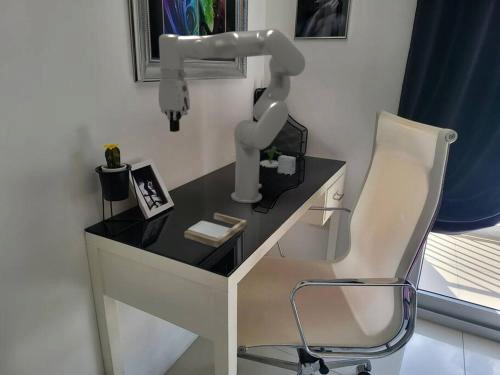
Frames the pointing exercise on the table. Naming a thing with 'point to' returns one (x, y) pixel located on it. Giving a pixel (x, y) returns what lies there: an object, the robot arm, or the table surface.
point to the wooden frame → (223, 238)
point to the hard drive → (209, 229)
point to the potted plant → (271, 162)
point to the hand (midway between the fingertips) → (174, 131)
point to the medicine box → (286, 164)
